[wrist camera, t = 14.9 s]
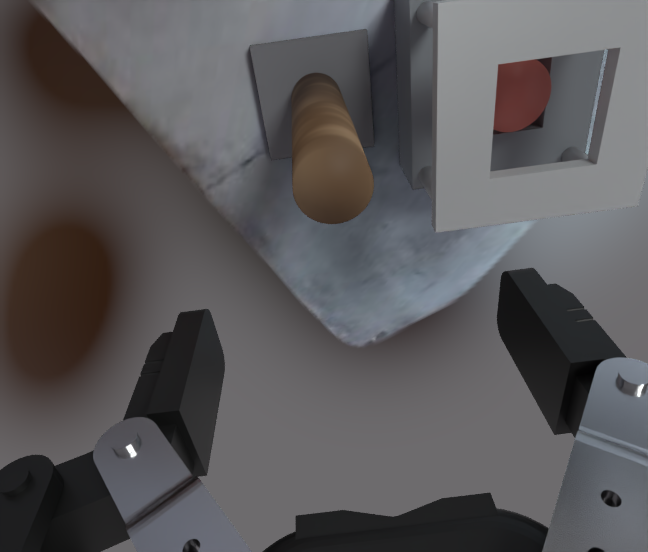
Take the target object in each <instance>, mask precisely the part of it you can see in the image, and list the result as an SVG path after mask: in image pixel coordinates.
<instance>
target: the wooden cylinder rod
mask: <svg viewBox="0 0 648 552" xmlns="http://www.w3.org/2000/svg"><path fill="white" fill-rule="evenodd" d="M291 102H292V184H293V195H294V199H295V201H296V203H297V205H298V207H299V208H300V209H301V211H302V212H303V213H304V214H305V215H307V216H308V217H309V218H311V219H313V220H315V221H317V222H321V223H326V224H338V223H343V222H346V221H349V220H351V219H353V218H355V217H356V216H358V215H359V214H360V213H361V212H362V211H363V210H364V209H365V208H366V207H367V205H368V203H369V202H370V200H371V197H372V194H373V189H374V180H373V175H372V172H371V169H370V166H369V164H368V161H367V159H366V156H365V153H364V151H363V148H362V146H361V143H360V140H359V138H358V135H357V133H356V130H355V127H354V125H353V122H352V120H351V117H350V114H349V112H348V109H347V107H346V104H345V102H344V99H343V96H342V94H341V91H340V89H339V86H338V85H337V83H336V82H335V81H334V80H333V79H332V78H331V77H330V76H328V75H326V74H323V73H310V74H307V75H305V76H303V77H302V78H301V79H300V80H299V81H298V82H297V83H296V85H295V86H294V89H293V91H292V99H291Z"/></svg>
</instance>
